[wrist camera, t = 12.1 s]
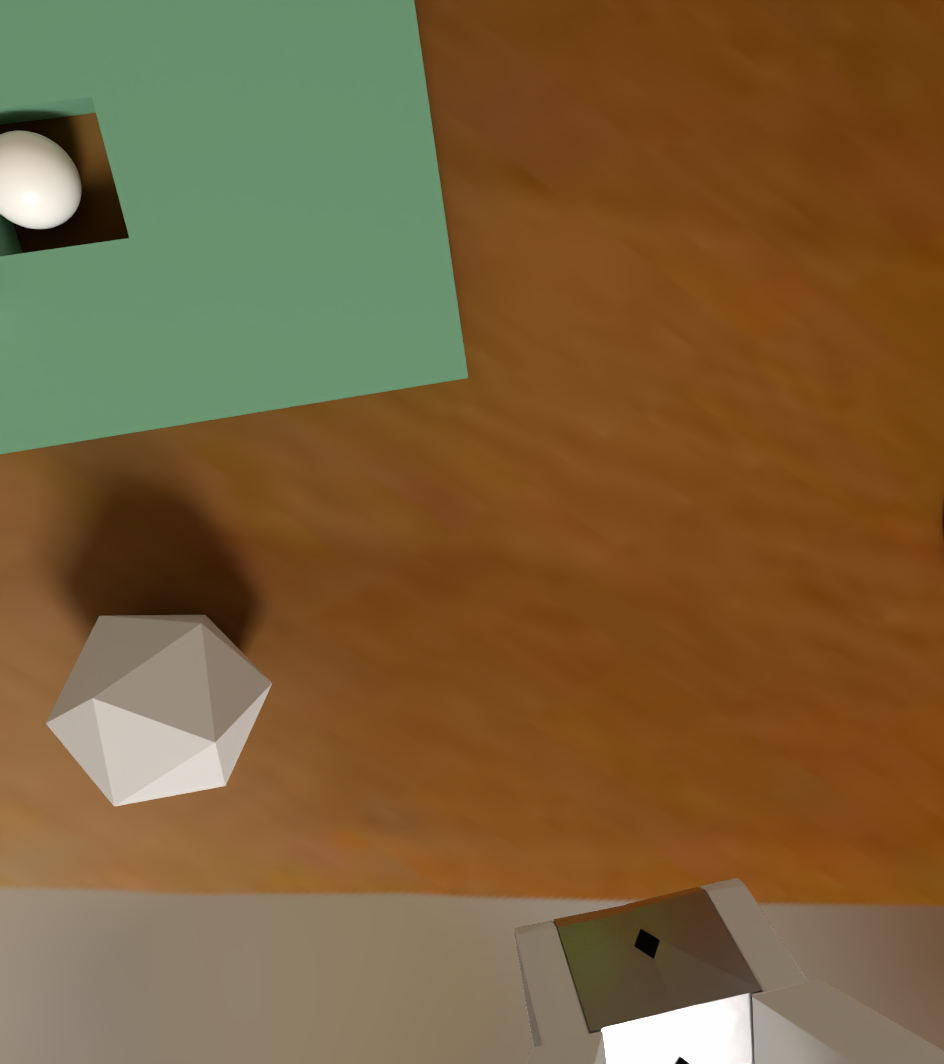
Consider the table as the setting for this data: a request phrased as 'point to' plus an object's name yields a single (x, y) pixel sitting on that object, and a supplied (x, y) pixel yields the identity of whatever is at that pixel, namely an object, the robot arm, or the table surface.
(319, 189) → the green box with hole
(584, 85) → the table surface
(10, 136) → the ball
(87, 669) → the die
